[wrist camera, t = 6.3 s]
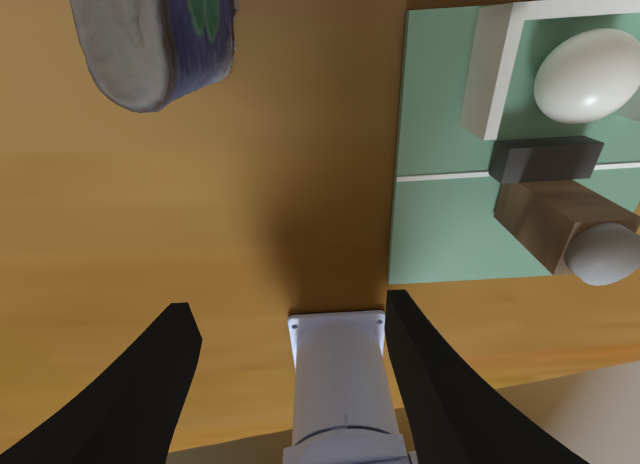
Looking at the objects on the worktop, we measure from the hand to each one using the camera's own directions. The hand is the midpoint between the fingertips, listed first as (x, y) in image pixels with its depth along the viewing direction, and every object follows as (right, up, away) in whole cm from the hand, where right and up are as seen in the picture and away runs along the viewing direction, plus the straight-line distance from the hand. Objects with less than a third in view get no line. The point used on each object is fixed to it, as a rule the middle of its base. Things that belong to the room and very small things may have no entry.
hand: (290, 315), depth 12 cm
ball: (+14, +10, +3) cm, 17 cm away
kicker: (+14, +5, +8) cm, 17 cm away
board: (+14, +7, +8) cm, 18 cm away
